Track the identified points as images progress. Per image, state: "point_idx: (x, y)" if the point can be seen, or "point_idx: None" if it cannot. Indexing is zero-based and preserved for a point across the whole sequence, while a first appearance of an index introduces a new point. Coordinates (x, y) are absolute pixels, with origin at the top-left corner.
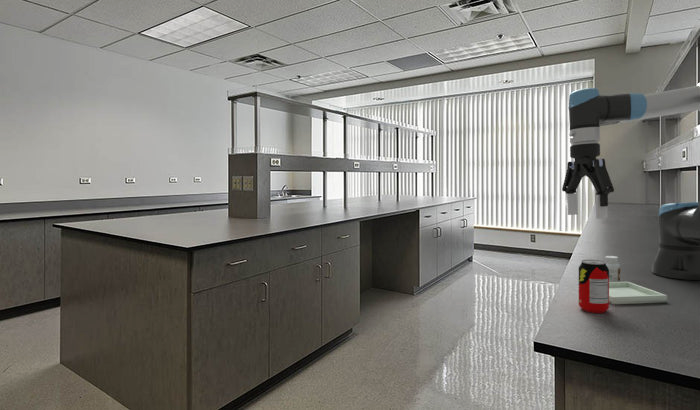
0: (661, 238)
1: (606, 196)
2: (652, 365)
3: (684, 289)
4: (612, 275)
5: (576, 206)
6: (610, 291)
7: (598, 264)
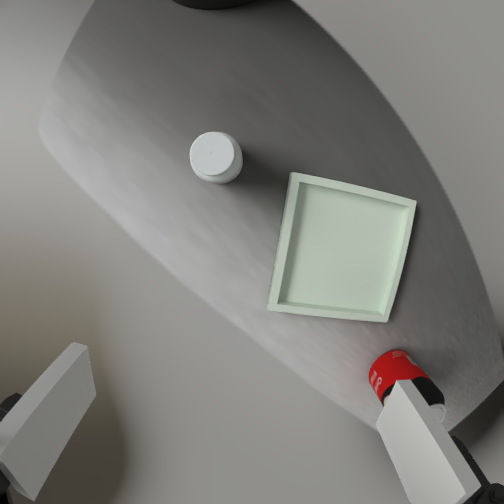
0: None
1: (481, 484)
2: (487, 393)
3: (338, 64)
4: (237, 173)
5: (59, 386)
6: (324, 263)
7: (441, 421)
